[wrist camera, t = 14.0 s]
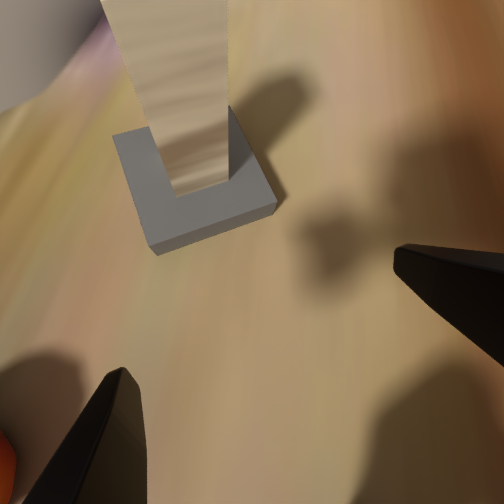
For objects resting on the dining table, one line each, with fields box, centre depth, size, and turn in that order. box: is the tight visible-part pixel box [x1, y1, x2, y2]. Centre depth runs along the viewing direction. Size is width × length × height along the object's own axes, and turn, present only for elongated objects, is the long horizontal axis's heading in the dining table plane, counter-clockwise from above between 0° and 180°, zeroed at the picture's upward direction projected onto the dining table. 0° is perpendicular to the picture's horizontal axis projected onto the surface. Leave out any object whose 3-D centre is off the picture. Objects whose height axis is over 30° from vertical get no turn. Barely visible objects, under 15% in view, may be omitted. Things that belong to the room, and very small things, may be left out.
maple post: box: [100, 0, 229, 197], centre depth 16 cm, size 5×5×13 cm
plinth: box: [112, 106, 278, 256], centre depth 23 cm, size 11×11×2 cm
